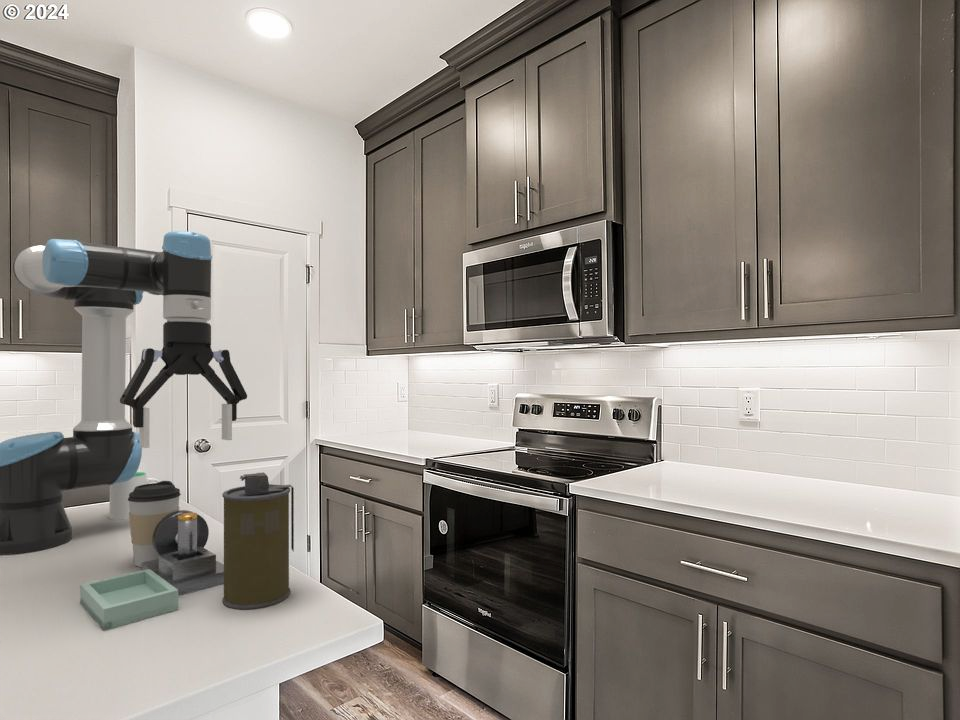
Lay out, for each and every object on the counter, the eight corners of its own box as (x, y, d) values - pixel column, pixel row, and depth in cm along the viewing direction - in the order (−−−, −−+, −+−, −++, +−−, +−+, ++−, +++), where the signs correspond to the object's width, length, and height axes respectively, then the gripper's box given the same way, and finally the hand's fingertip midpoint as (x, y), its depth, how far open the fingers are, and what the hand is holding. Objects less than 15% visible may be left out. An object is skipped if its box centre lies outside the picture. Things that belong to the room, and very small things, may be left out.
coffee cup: (157, 570, 109) (157, 489, 109) (115, 567, 110) (116, 487, 111) (190, 555, 117) (190, 480, 118) (151, 552, 119) (151, 478, 120)
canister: (224, 614, 89) (224, 482, 89) (220, 591, 98) (220, 472, 98) (298, 601, 94) (298, 476, 94) (287, 580, 103) (287, 466, 103)
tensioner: (141, 573, 107) (141, 513, 107) (198, 560, 114) (198, 504, 114) (171, 597, 96) (171, 529, 96) (232, 581, 103) (232, 518, 103)
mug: (157, 507, 158) (157, 469, 158) (167, 512, 152) (167, 472, 153) (106, 515, 150) (106, 475, 150) (114, 521, 144) (114, 479, 144)
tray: (80, 603, 93) (80, 584, 94) (149, 586, 101) (149, 568, 101) (103, 630, 84) (103, 609, 84) (178, 609, 91) (178, 590, 91)
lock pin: (175, 572, 102) (175, 514, 102) (193, 568, 104) (193, 511, 104) (181, 576, 100) (181, 517, 100) (199, 572, 102) (199, 514, 102)
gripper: (111, 316, 91) (111, 452, 90) (265, 324, 109) (266, 438, 108) (99, 319, 96) (98, 448, 96) (248, 326, 114) (248, 435, 114)
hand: (187, 443), depth 102 cm, fingers open, 13 cm apart
